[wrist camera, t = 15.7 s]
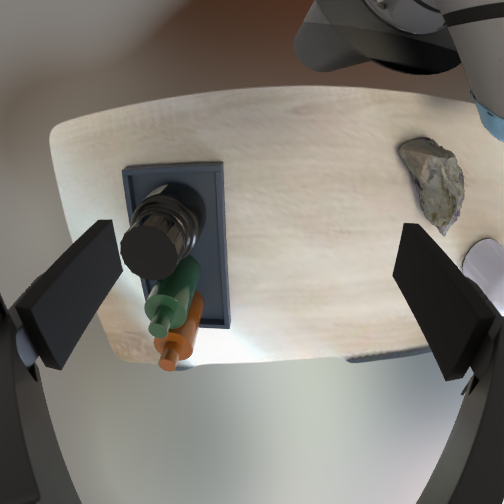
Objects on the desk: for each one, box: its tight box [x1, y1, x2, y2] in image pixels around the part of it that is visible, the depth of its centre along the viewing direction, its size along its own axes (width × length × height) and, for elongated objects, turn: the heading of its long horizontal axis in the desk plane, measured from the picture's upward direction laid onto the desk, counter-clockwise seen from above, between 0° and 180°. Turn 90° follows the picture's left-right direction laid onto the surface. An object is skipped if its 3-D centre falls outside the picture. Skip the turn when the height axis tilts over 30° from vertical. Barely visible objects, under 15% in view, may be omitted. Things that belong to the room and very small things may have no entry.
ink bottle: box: [120, 183, 206, 281], centre depth 38 cm, size 10×9×12 cm
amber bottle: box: [154, 290, 205, 371], centre depth 45 cm, size 6×6×14 cm
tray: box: [122, 162, 231, 329], centre depth 46 cm, size 27×14×2 cm, turn 0°
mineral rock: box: [399, 138, 464, 236], centre depth 35 cm, size 13×11×10 cm
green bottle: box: [145, 255, 201, 338], centre depth 42 cm, size 6×6×14 cm
